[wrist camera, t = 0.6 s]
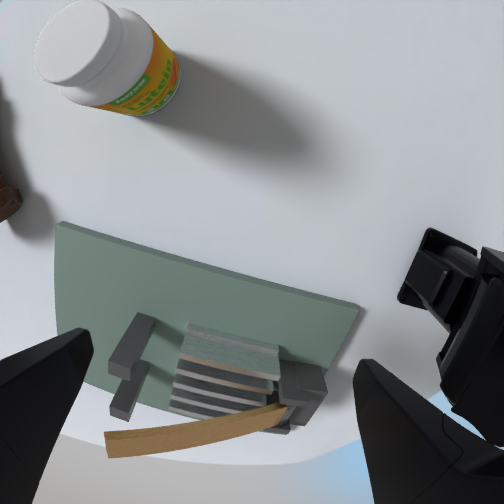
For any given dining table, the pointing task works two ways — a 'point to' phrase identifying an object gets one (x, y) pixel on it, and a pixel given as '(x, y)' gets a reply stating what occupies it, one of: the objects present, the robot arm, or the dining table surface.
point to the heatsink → (222, 373)
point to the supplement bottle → (107, 59)
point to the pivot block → (298, 392)
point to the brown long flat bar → (194, 432)
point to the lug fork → (130, 365)
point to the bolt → (8, 200)
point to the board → (181, 308)
